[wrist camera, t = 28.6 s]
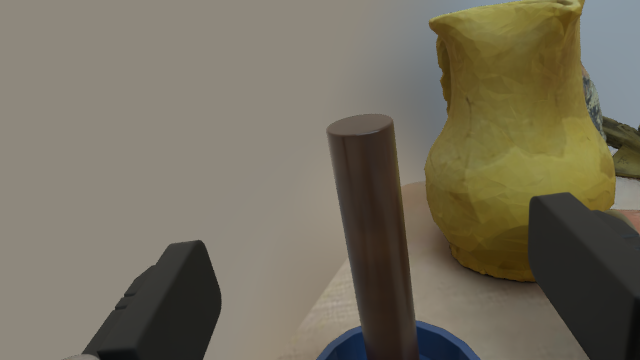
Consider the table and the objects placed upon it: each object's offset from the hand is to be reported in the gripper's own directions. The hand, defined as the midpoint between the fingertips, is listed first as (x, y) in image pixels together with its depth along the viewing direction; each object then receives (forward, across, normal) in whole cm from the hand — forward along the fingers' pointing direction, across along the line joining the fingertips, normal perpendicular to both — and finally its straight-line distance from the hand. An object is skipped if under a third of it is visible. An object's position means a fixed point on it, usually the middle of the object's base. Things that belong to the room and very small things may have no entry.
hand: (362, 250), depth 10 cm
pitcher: (+31, -15, +22) cm, 41 cm away
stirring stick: (+9, 0, +22) cm, 23 cm away
